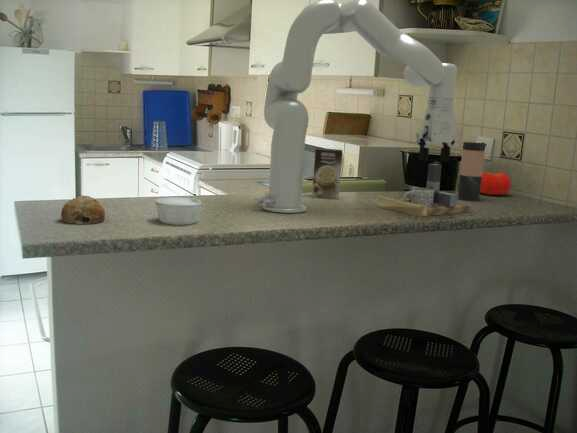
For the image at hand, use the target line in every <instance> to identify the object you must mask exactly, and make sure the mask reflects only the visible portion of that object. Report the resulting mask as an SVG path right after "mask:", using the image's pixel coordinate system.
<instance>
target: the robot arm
mask: <svg viewBox="0 0 577 433" xmlns="http://www.w3.org/2000/svg"><path fill="white" fill-rule="evenodd" d="M352 32H356V33H357V34H358V35H359V36H361V38H362V39H363V40H364V41H366V42H367V43H368V44H369V45H370V46H371V47H372V48H373V49H374V50H375V51H376V52H377V53H378V54H380V55H383V56H384V57H387V58H390V59H393V60H397V61H399V62H401V63H403V64H404V65H406V66H405V68H404V70H403V77H404V79H405V81H406V83H408V84H410V85H411V86H414V87H428V86H429V93H428V100H427V108H426V111H425V113H424V117H423V122H422V128H421V129H419V130H418V131H417V132H415V136H416V142H417V143H418V147H419V153H418V160H419V161H422V162H428V160H429V155H430V154H429V152H430V148H429V146H430V144H431V143H432V142H433V143H441V145H442V147H441V148H440V154H439V155H440V157H439V160H440V161H442V162H450V157H451V156H450V155H451V149H453V145H454V144H455V142H456V139H457V136H458V134H456V132H455V112H454V110H453V109H454V102H455V101H454V99H455V93H456V85H457V84H456V83H457V75H458V67H457V65H456V64H453V63H451V62H450V63H449V62H448V63H447V62H442V61H441V60H440V59H439V57H437V55H435V54H434V53H433V52H432V51H431V50H430V49H429V48H428V47H427V46H425V45H424V44H423V43H421V42H420V41H418V40H417V39H415V38H413V37H412V36H410V35H408V34H407V33H405V32H403V31H401V30H400V29H399V28H398V27H397V26H396V25H395V24H394V23H393V22H391V20H390V19H388V17H387V16H386V15H385V14H383V13H382V12H381V11H380V10H379V9H378V7H376V6H375V4H374V3H372V2H371V1H369V0H351V1H348V2H342V3H341V2H340V3H338V2H337V1H335V0H318V1H316V2H315V1H314V2H313V3H310V4H308V5H306V6H305V7H304V8H303V9H302V10H301V12H300V13H299V14H298V15H297V16H296V18H295V19H294V21H293V22H292V24H291V25H290V28H289V30H288V32H287V37H286V41H285V46H284V49H283V50H284V52H283V57H282V60H281V61H279V62H278V63H276V64H275V65H274V66H273V68H272V69H271V71H270V74H269V76H268V81H267V87H266V95H265V100H264V101H265V102H264V109H263V114H264V115H263V116H264V120H265V123H266V125H267V126H268V127H269V128H271V129H272V130H273V132H272V138H271V143H270V163H269V164H270V165H269V182H268V183H269V184H268V185H269V186H268V192H267V193H266V192H265V195H264V196H263V197H262V196H256V197H254V198H253V203H254V204H255V205H261V204H262V209H263V210H265V211H268V212H273V213H274V212H275V213H281V214H282V213H283V214H285V213H286V214H298V213H304V212H306V211H307V206H306V204H305V205H304V204H303V203H302V201H303V200H302V197H303V182H304V181H303V180H304V164H305V163H304V162H305V145H306V137H307V132H308V127H309V120H310V119H309V118H310V117H309V112H308V109H307V107H306V105H305V104H304V103H303V102H301V101H300V100H299V99H298V96H299V95H298V94H302V93H304V92H305V91H307V90H308V89H309V87H310V85H311V81H312V74H313V67H314V61H315V56H316V55H315V54H316V50H317V46H318V42H319V40H320V39H321V37H322V36H323V35H330V34H331V35H333V34H344V33H352Z"/></svg>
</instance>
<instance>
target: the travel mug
mask: <svg viewBox="0 0 577 433" xmlns="http://www.w3.org/2000/svg"><path fill="white" fill-rule="evenodd" d="M485 151H486V143H484V142H483V143H482V142H474V141H473V142H471V141H464V142H462V152H461V161H460V169H459V181H458V194H457V200H462V201H466V202H467V201H469V202H478V201H479V200H480V194H481V193H480V188H481V181H482V174H483V172H484V164H485V153H486V152H485Z"/></svg>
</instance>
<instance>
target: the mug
mask: <svg viewBox="0 0 577 433" xmlns="http://www.w3.org/2000/svg"><path fill="white" fill-rule="evenodd" d="M402 195H403V196H402V199H403V201H406V199H407V197H408V196H409V195H412V198H410V199H411V203H416V204H420V205H425V206H427V208H431V207H434V204H433V199H434V189H429V188H426V187H420V188H412V191H409V190H408V191H405V192H404V193H403V194H402Z"/></svg>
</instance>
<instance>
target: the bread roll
mask: <svg viewBox="0 0 577 433" xmlns="http://www.w3.org/2000/svg"><path fill="white" fill-rule="evenodd" d="M60 216H61V217H60V218H61V220H62V221H63V222H65V223H67V224H72V225H77V226H78V225H93V224H95V225H97V224H100V223H103V222H104V221H105V219H106V211H105V207H104V205H102V203H100V202H99V201H98V200H97V199H96V198H94V197H92V196H89V195H80V196H76V197H73V198H72V199H70V200H68V201H67V202H65V204H64V205H63V207H62V209H61V213H60Z"/></svg>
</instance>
